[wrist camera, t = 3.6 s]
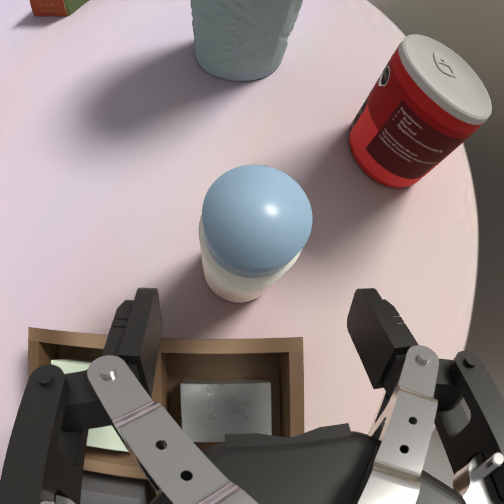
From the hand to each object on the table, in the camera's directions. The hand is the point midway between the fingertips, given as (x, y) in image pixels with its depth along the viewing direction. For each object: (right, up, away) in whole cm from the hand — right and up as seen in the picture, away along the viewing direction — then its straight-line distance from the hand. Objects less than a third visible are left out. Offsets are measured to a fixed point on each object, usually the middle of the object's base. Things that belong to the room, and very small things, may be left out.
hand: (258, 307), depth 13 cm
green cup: (-2, +22, +15) cm, 27 cm away
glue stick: (-1, +1, +9) cm, 9 cm away
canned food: (+12, +11, +14) cm, 21 cm away
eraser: (-10, -15, +3) cm, 18 cm away
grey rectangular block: (-2, -7, +6) cm, 10 cm away
